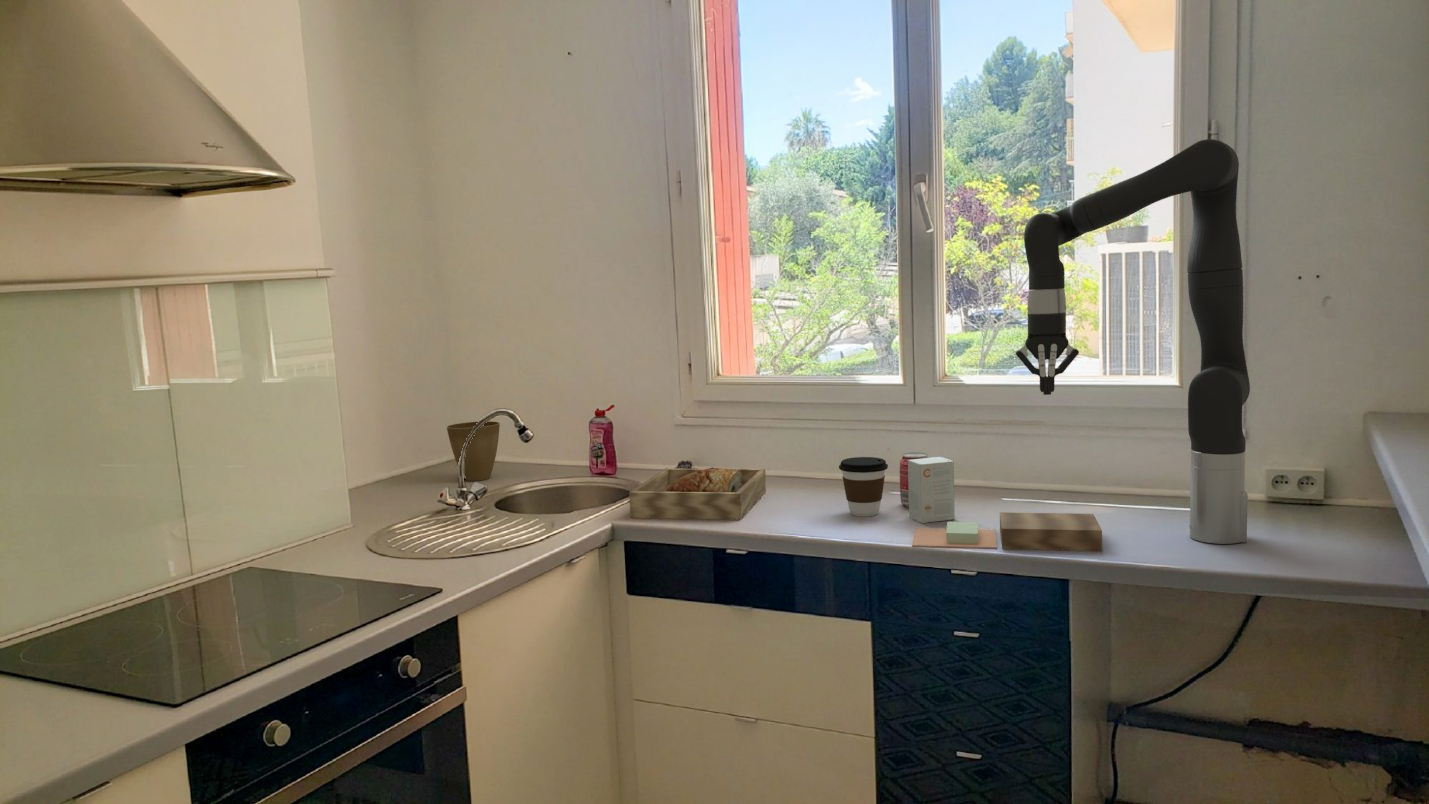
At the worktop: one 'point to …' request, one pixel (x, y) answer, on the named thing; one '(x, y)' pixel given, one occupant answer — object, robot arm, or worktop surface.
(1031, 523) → the board
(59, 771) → the worktop surface
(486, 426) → the plant pot
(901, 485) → the soda can
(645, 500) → the bread crate
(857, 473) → the coffee cup
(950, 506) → the small box
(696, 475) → the bread
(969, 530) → the pale green foam block
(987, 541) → the mat
